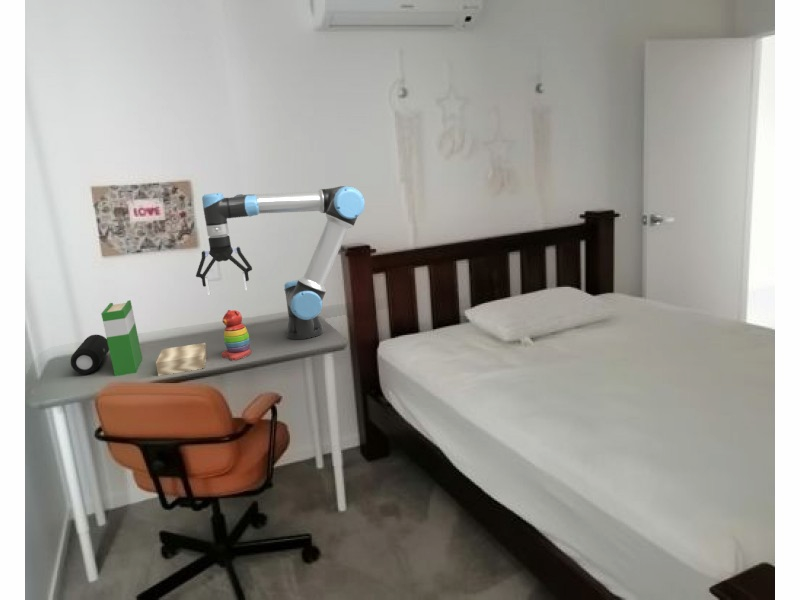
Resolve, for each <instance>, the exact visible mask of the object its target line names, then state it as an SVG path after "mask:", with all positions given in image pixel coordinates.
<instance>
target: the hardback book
mask: <svg viewBox="0 0 800 600" xmlns="http://www.w3.org/2000/svg"><path fill="white" fill-rule="evenodd" d="M104 308H105V309H103V311H101V314H100V315H101V319H102V323H103V328H104V333H105V338H106V339H107V342H108V347H109V351H108V352H109V355H110V360H111V364H112V368H113V374H114V377H119V376H125V375H130V374H136V373H138V370H139V368H140V365H141V363H142V361H143V355H142V350H141V346H140V345H141V344H140V339H139V334H138V331H137V330H138V329H137V326H136V320H135V316H134V311H133V306H132V301H131V300H127V301H126V302H123V303H118V304H117V303H116V304H115V303H113V302H110V303H109V304H108V305H107V306H106V307H104Z"/></svg>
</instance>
